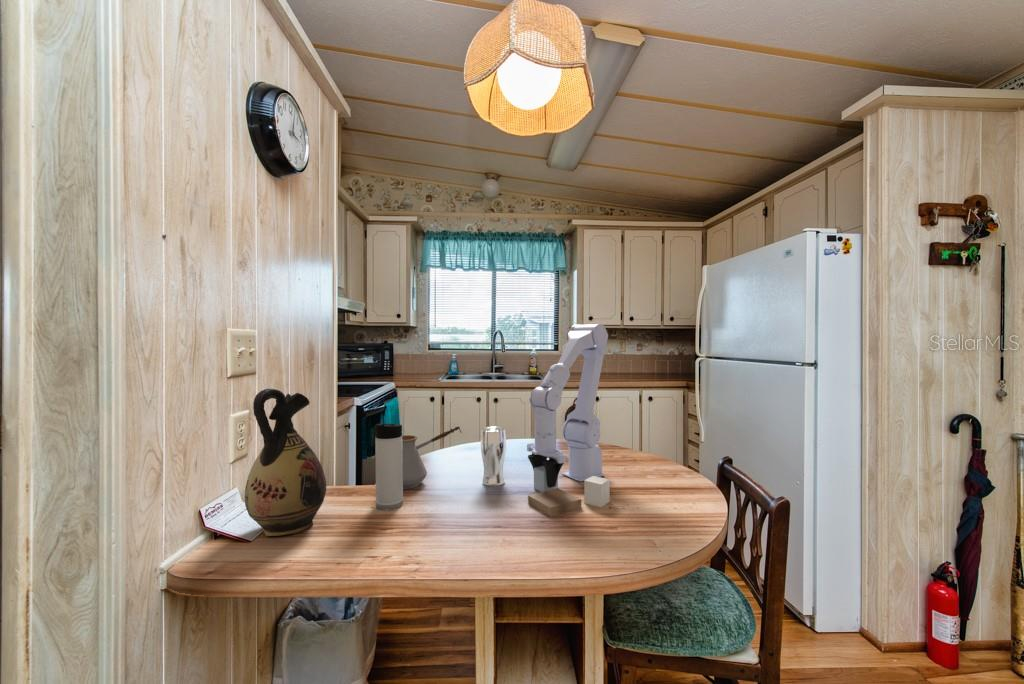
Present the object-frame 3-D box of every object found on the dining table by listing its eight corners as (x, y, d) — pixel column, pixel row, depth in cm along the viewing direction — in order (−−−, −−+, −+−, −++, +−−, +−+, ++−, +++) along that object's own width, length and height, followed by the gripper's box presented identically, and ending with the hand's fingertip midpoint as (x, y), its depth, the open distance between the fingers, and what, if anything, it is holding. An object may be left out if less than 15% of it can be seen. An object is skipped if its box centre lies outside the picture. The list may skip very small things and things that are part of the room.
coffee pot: (384, 494, 111) (383, 436, 111) (383, 480, 122) (383, 427, 122) (465, 485, 118) (465, 430, 117) (458, 472, 129) (458, 422, 128)
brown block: (557, 497, 109) (557, 488, 109) (581, 509, 101) (581, 499, 101) (528, 505, 104) (528, 495, 104) (550, 518, 97) (550, 507, 97)
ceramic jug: (291, 508, 102) (290, 382, 102) (342, 518, 96) (340, 384, 96) (219, 540, 87) (217, 391, 86) (274, 554, 81) (271, 394, 80)
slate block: (547, 485, 117) (547, 464, 117) (557, 490, 113) (557, 469, 113) (533, 488, 115) (533, 467, 115) (544, 493, 111) (543, 472, 111)
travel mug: (369, 508, 102) (368, 423, 102) (389, 498, 108) (388, 419, 108) (389, 512, 99) (388, 426, 99) (408, 503, 105) (407, 421, 105)
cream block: (592, 497, 108) (592, 475, 108) (609, 501, 105) (609, 479, 105) (584, 503, 104) (584, 480, 104) (601, 507, 102) (601, 484, 102)
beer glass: (505, 487, 116) (505, 431, 116) (479, 487, 116) (479, 431, 116) (506, 478, 123) (506, 426, 123) (482, 478, 123) (481, 426, 123)
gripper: (517, 429, 118) (518, 479, 118) (550, 440, 106) (550, 495, 106) (538, 426, 122) (538, 474, 122) (572, 436, 109) (572, 489, 110)
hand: (545, 483), depth 114 cm, fingers closed on slate block, 4 cm apart
